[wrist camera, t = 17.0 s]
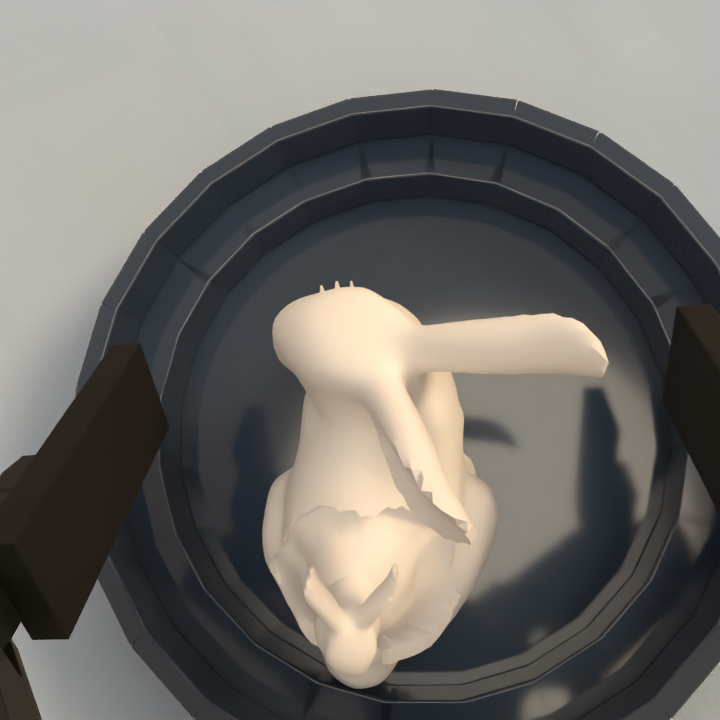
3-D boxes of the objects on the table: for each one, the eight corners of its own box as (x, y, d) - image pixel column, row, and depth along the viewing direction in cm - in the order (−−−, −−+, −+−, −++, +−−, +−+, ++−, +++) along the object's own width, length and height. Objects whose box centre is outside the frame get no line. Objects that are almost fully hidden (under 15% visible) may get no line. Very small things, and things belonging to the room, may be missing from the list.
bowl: (126, 746, 22) (54, 799, 18) (144, 183, 26) (88, 126, 22) (774, 750, 19) (855, 813, 15) (683, 130, 23) (729, 55, 19)
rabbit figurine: (321, 279, 23) (230, 125, 14) (552, 295, 22) (627, 140, 12) (271, 656, 21) (122, 786, 11) (526, 696, 20) (594, 876, 10)
